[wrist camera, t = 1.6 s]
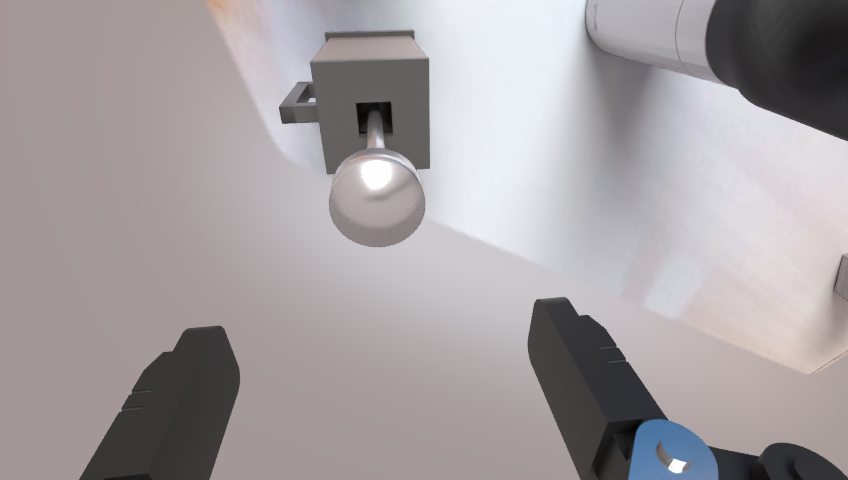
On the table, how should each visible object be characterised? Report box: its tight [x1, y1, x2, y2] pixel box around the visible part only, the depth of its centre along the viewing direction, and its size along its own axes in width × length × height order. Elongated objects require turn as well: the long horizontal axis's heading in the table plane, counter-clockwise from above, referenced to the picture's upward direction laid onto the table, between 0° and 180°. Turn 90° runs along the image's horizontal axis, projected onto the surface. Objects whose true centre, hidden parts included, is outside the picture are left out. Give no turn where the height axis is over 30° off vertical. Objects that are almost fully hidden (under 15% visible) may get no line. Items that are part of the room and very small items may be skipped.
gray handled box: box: [279, 30, 430, 174], centre depth 34 cm, size 11×8×16 cm
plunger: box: [329, 102, 425, 247], centre depth 24 cm, size 6×6×17 cm
